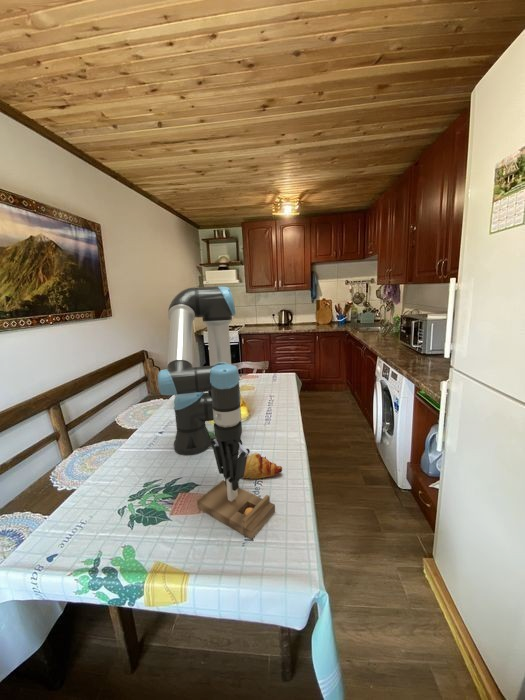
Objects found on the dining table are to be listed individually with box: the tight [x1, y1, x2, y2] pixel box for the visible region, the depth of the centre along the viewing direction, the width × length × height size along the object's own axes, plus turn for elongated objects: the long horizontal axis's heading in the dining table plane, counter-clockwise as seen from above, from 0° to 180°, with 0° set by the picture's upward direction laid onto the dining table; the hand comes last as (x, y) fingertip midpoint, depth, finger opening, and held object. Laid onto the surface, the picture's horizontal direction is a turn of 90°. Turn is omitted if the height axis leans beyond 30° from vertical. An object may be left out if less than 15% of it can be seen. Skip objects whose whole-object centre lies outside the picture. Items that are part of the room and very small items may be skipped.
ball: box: [243, 508, 253, 516], centre depth 79 cm, size 3×3×3 cm
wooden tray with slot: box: [196, 479, 276, 540], centre depth 82 cm, size 20×11×4 cm, turn 55°
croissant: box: [243, 452, 283, 480], centre depth 99 cm, size 21×10×8 cm, turn 76°
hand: (232, 497), depth 82 cm, fingers closed
